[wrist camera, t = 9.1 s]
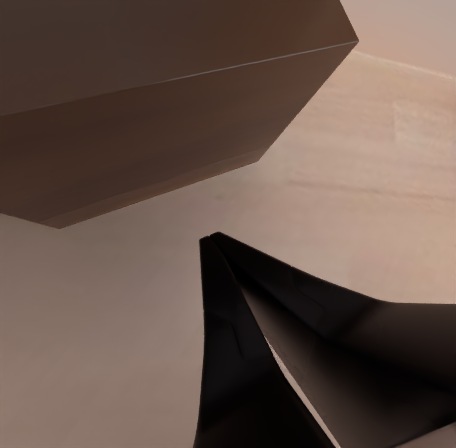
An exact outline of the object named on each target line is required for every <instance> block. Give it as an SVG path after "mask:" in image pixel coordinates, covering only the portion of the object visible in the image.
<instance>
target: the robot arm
mask: <svg viewBox="0 0 456 448" xmlns="http://www.w3.org/2000/svg"><path fill="white" fill-rule="evenodd" d="M199 245H200V262H201V279H202V296H203V310H204V312H203V315H204V355H203V369H202V381H201V394H200V406H199V415H198V423H197V430H196V436H195V440H194V445H193V448H336V447H335V446H334V445H333V443H332V442H331V440H330V439H329V438H328V436H327V435H326V433H325V432H324V431H323V429H322V428H321V427H320V425H319V424H318V422H317V421H316V420H315V418H314V417H313V415H312V414H311V413H310V411H309V410H308V408H307V407H306V406H305V404H304V403H303V401H302V400H301V399H300V397H299V396H298V394H297V393H296V392H295V390H294V389H293V387H292V386H291V385H290V383H289V382H288V380H287V379H286V378H285V376H284V374H283V373H282V371H281V369H280V367H279V365H278V363H277V362H276V360H275V358H274V357H273V353H272V351H271V349H270V347H269V345H268V343H267V341H266V339H267V340H268V341H269V343H270V344H271V346H272V347H273V349H274V350H275V352H276V353H277V355H278V356H279V357H280V359H281V360H282V362H283V363H284V365H285V366H286V368H287V369H288V371H289V372H290V373H291V375H292V376H293V378H294V379H295V381H296V382H297V384H298V385H299V386H300V387H301V390H302V391H303V393H304V394H305V395H306V397H307V398H308V400H309V401H310V403H311V404H312V406H313V407H314V409H315V410H316V411H317V413H318V414H319V416H320V417H321V419H322V420H323V422H324V423H325V425H326V426H327V427H328V429H329V430H330V432H331V433H332V435H333V436H334V438H335V439H336V441H337V442H338V443H339V445H340V446H341V448H456V304H426V303H394V302H387V301H382V300H378V299H375V298H372V297H369V296H366V295H363V294H360V293H358V292H355V291H352V290H349V289H347V288H344V287H341V286H338V285H336V284H333V283H330V282H328V281H325V280H323V279H320V278H317V277H315V276H313V275H310V274H308V273H306V272H304V271H301V270H299V269H297V268H295V267H293V266H292V267H291V265H289V264H287V263H284V262H282V261H280V260H278V259H276V258H274V257H272V256H270V255H268V254H266V253H263V252H261V251H259V250H257V249H255V248H253V247H251V246H249V245H247V244H244V243H242V242H240V241H238V240H236V239H234V238H232V237H230V236H228V235H226V234H223V233H221V232H215V233H213V234H211V235H210V236H206V237H203V238H201V239H200V240H199ZM263 334H264V335H263ZM264 336H265V337H266V339H265V337H264Z"/></svg>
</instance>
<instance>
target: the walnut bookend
mask: <svg viewBox="0 0 456 448" xmlns="http://www.w3.org/2000/svg"><path fill="white" fill-rule="evenodd" d="M358 42H359V39H358V37H357V35H356V33H355V31H354V29H353V27H352V25H351V23H350V21H349V19H348V17H347V15H346V13H345V11H344V9H343V6H342V4H341V2H340V0H0V213H2V214H6V215H9V216H13V217H17V218H20V219H24V220H28V221H31V222H36V223H39V224H43V225H46V226H50V227H54V228H57V229H61V228H64V227H66V226H69V225H72V224H75V223H78V222H81V221H84V220H87V219H90V218H93V217H96V216H99V215H102V214H105V213H107V212H110V211H113V210H116V209H119V208H122V207H125V206H128V205H131V204H134V203H137V202H140V201H143V200H145V199H148V198H151V197H154V196H157V195H160V194H163V193H166V192H169V191H172V190H175V189H178V188H181V187H184V186H186V185H189V184H192V183H195V182H198V181H201V180H204V179H207V178H210V177H213V176H216V175H219V174H222V173H225V172H227V171H230V170H233V169H236V168H239V167H242V166H245V165H248V164H251V163H254V162H257V161H258V160H259V159H260V158H261V157H262V156H263V154H264V153H265V152H266V151H267V150H268V149H269V147H270V146H271V145H272V144H273V143H274V141H275V140H276V139H277V138H278V137H279V136H280V134H281V133H282V132H283V131H284V130H285V128H286V127H287V126H288V125H289V124H290V123H291V121H292V120H293V119H294V118H295V117H296V115H297V114H298V113H299V112H300V111H301V110H302V108H303V107H304V106H305V105H306V104H307V102H308V101H309V100H310V99H311V98H312V97H313V95H314V94H315V93H316V92H317V91H318V89H319V88H320V87H321V86H322V85H323V84H324V82H325V81H326V80H327V79H328V78H329V76H330V75H331V74H332V73H333V72H334V71H335V69H336V68H337V67H338V66H339V65H340V63H341V62H342V61H343V60H344V59H345V58H346V56H347V55H348V54H349V53H350V52H351V50H352V49H353V48H354V47H355V46H356V45H357V43H358Z"/></svg>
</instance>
